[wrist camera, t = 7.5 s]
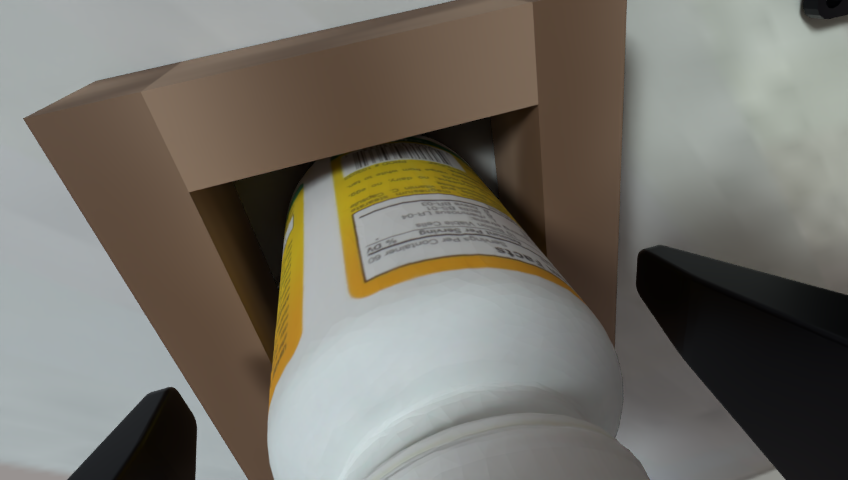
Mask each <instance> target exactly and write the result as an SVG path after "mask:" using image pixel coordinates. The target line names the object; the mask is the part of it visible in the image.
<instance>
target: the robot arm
mask: <svg viewBox="0 0 848 480" xmlns="http://www.w3.org/2000/svg"><path fill="white" fill-rule="evenodd" d="M803 9H804V12H805V14H806V15H807V16H809V17H810V18H822V19H831V18H835V17H839V16H843V15H847V14H848V0H804V3H803ZM636 287H637V291H638V293H639V295H640V297H641V298H642V300H643V301H644V303H645V304H646V306H647V307H648V309H649V310H650V312H651V313H652V314H653V316H654V317H655V319H656V320H657V322H658V323H659V325H660V326H661V328H662V329H663V331H664V332H665V334H666V335H667V336H668V338H669V339H670V341H671V342H672V344H673V345H674V347H675V348H676V349H677V351H678V352H679V354H680V355H681V356H682V358H683V359H684V360H685V361H686V363H687V364H688V365H689V366H690V367H691V369H692V370H693V371H694V372H695V373H696V375H697V376H698V377H699V378H700V379H701V380H702V382H703V383H704V384H705V385H706V386H707V387H708V389H709V390H710V391H711V392H712V393H713V395H714V396H715V397H716V398H717V399H718V400H719V402H720V403H721V404H722V405H723V406H724V408H725V409H726V410H727V411H728V412H729V413H730V415H731V416H732V417H733V418H734V419H735V420H736V422H737V423H738V424H739V425H740V426H741V428H742V429H743V430H744V431H745V432H746V433H747V435H748V436H749V437H750V438H751V439H752V441H753V442H754V443H755V444H756V445H757V446H758V448H759V449H760V450H761V451H762V452H763V453H764V455H765V456H766V457H767V458H768V459H769V461H770V462H771V463H772V464H773V465H774V466H775V468H776V469H777V470H778V471H779V472H780V473H781V474H782V476H783V477H784V478H785V479H786V480H848V295H845V294H842V293H838V292H834V291H830V290H827V289H823V288H819V287H816V286H812V285H808V284H804V283H801V282H797V281H793V280H790V279H786V278H782V277H778V276H775V275H771V274H767V273H764V272H760V271H756V270H752V269H749V268H745V267H741V266H737V265H734V264H730V263H726V262H723V261H719V260H715V259H711V258H708V257H704V256H700V255H697V254H693V253H689V252H685V251H682V250H678V249H674V248H671V247H667V246H663V245H657V246H653V247H650V248H646V249H643V250H641V251H640V252H639V254H638V258H637V275H636ZM196 441H197V425H196V420H195V417H194V415H193V414H192V412H191V410H190V409H189V407H188V406H187V404H186V403H185V401H184V400H183V398H182V397H181V395H180V394H179V392H178V391H177V390H176V389H175V388H173V387H168V388H164V389H161V390H157V391H154V392H151V393H149V394H147V395H146V396H145V397H144V398H143V399H142V400H141V401H140V402H139V404H138V405H137V406H136V407H135V408H134V409H133V410H132V411H131V412H130V413H129V414H128V415H127V416H126V417H125V418H124V420H123V421H122V422H121V423H120V424H119V425H118V426H117V427H116V428H115V429H114V430H113V431H112V432H111V433H110V434H109V436H108V437H107V438H106V439H105V440H104V441H103V442H102V443H101V444H100V445H99V446H98V447H97V448H96V449H95V451H94V452H93V453H92V454H91V455H90V456H89V457H88V458H87V459H86V460H85V461H84V462H83V463H82V464H81V465H80V467H79V468H78V469H77V470H76V471H75V472H74V473H73V474H72V475H71V476H70V477H69V478H68V479H67V480H195V472H196Z"/></svg>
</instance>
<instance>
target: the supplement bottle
mask: <svg viewBox="0 0 848 480" xmlns="http://www.w3.org/2000/svg"><path fill="white" fill-rule="evenodd" d="M622 405H623V382H622V374H621V369H620V365H619V361H618V358H617V354H616V352H615V349H614V347H613V344H612V342H611V340H610V339H609V337H608V335H607V333H606V331H605V329H604V328H603V326H602V324H601V323H600V322H599V320H598V319H597V318H596V316H595V315H594V314H593V312H592V311H591V310H590V309H589V307H588V306H587V305H586V304H585V302H584V301H583V300H582V299H581V297H580V296H579V295H578V294H577V293H576V292H575V291H574V289H573V288H572V287H571V286H570V285H569V283H568V282H567V281H566V280H565V279H564V277H563V276H562V275H561V274H560V273H559V271H558V270H557V269H556V268H555V267H554V266H553V264H552V263H551V262H550V261H549V260H548V259H547V257H546V256H545V255H544V254H543V253H542V252H541V250H540V249H539V248H538V247H537V246H536V245H535V243H534V242H533V241H532V240H531V239H530V237H529V236H528V235H527V234H526V232H525V231H524V230H523V229H522V228H521V226H520V225H519V224H518V223H517V222H516V220H515V219H514V218H513V217H512V216H511V214H510V213H509V212H508V211H507V210H506V208H505V207H504V206H503V205H502V203H501V202H500V201H499V200H498V199H497V198H496V196H495V195H494V194H493V193H492V192H491V191H490V190H489V188H488V187H487V186H486V185H485V184H484V183H483V181H482V180H481V179H480V178H479V176H478V175H477V174H476V173H475V172H474V170H473V169H472V168H471V167H470V166H469V165H468V163H467V162H466V161H465V160H464V159H463V158H461V157H460V156H459V155H458V154H457V153H456V152H454V151H453V150H451V149H450V148H448V147H447V146H445V145H444V144H442V143H440V142H438V141H435V140H433V139H431V138H428V137H425V136H422V135H414V136H410V137H407V138H403V139H399V140H395V141H391V142H387V143H383V144H379V145H375V146H371V147H367V148H363V149H359V150H355V151H351V152H347V153H343V154H339V155H335V156H331V157H327V158H323V159H319V160H317V161H316V162H315V163H314V164H313V165H312V166H311V167H310V168H309V169H308V170H307V172H306V173H305V174H304V176H303V177H302V179H301V180H300V182H299V183H298V185H297V187H296V188H295V191H294V193H293V195H292V197H291V200H290V204H289V207H288V211H287V216H286V224H285V232H284V245H283V256H282V268H281V280H280V290H279V301H278V312H277V324H276V331H275V341H274V352H273V363H272V372H271V383H270V393H269V410H268V433H267V443H268V454H269V462H270V467H271V470H272V474H273V478H274V480H650V479H649V477H648V475H647V473H646V471H645V469H644V468H643V466H642V464H641V463H640V461H639V460H638V459H637V458H636V457H635V456H634V455H633V454H632V453H631V452H630V450H628V449H627V448H625V447H624V446H623V445H621V444H620V443H619V442H618V441H617V439H615V437H616V434H617V431H618V428H619V424H620V418H621V413H622Z"/></svg>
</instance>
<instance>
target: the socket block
mask: <svg viewBox="0 0 848 480" xmlns="http://www.w3.org/2000/svg"><path fill="white" fill-rule="evenodd" d="M626 9H627V0H455V1H451V2H446V3H442V4H437V5H433V6H428V7H424V8H420V9H415V10H411V11H406V12H402V13H397V14H393V15H388V16H384V17H379V18H375V19H370V20H366V21H362V22H357V23H353V24H348V25H344V26H339V27H335V28H330V29H326V30H321V31H317V32H313V33H308V34H304V35H299V36H295V37H290V38H286V39H281V40H277V41H272V42H268V43H263V44H259V45H255V46H250V47H246V48H241V49H237V50H232V51H228V52H223V53H219V54H214V55H210V56H205V57H201V58H197V59H192V60H188V61H183V62H179V63H174V64H170V65H165V66H161V67H156V68H152V69H147V70H143V71H139V72H134V73H130V74H125V75H121V76H116V77H112V78H107V79H103V80H98V81H95V82H93V83H91V84H89V85H87V86H85V87H83V88H81V89H79V90H78V91H76V92H74V93H72V94H70V95H68V96H66V97H64V98H62V99H60V100H58V101H56V102H54V103H52V104H50V105H49V106H47V107H45V108H43V109H41V110H39V111H37V112H35V113H33V114H31V115H29V116H27V117H25V118H23V119H24V121H25V122H26V124H27V125H28V127H29V129H30V130H31V132H32V134H33V135H34V137H35V138H36V140H37V142H38V143H39V145H40V146H41V148H42V150H43V151H44V153H45V154H46V156H47V158H48V159H49V161H50V162H51V164H52V166H53V167H54V169H55V170H56V172H57V174H58V175H59V177H60V178H61V180H62V182H63V183H64V185H65V186H66V188H67V190H68V191H69V193H70V194H71V196H72V198H73V199H74V201H75V202H76V204H77V206H78V207H79V209H80V210H81V212H82V214H83V215H84V217H85V218H86V220H87V222H88V223H89V225H90V227H91V228H92V230H93V231H94V233H95V235H96V236H97V238H98V239H99V241H100V243H101V244H102V246H103V247H104V249H105V251H106V252H107V254H108V255H109V257H110V259H111V260H112V262H113V263H114V265H115V267H116V268H117V270H118V271H119V273H120V275H121V276H122V278H123V279H124V281H125V283H126V284H127V286H128V287H129V289H130V291H131V292H132V294H133V295H134V297H135V299H136V300H137V302H138V303H139V305H140V307H141V308H142V310H143V312H144V313H145V315H146V316H147V318H148V320H149V321H150V323H151V324H152V326H153V328H154V329H155V331H156V332H157V334H158V336H159V337H160V339H161V340H162V342H163V344H164V345H165V347H166V348H167V350H168V352H169V353H170V355H171V356H172V358H173V360H174V361H175V363H176V364H177V366H178V368H179V369H180V371H181V372H182V374H183V376H184V377H185V379H186V380H187V382H188V384H189V385H190V387H191V388H192V390H193V392H194V393H195V395H196V396H197V398H198V400H199V401H200V403H201V405H202V406H203V408H204V409H205V411H206V413H207V414H208V416H209V417H210V419H211V421H212V422H213V424H214V425H215V427H216V429H217V430H218V432H219V433H220V435H221V437H222V438H223V440H224V441H225V443H226V445H227V446H228V448H229V449H230V451H231V453H232V454H233V456H234V457H235V459H236V461H237V462H238V464H239V465H240V467H241V469H242V470H243V472H244V473H245V475H246V477H247V478H248V480H274V478H273V474H272V470H271V467H270V462H269V454H268V443H267V433H268V410H269V393H270V383H271V372H272V363H273V352H274V341H275V331H276V324H277V312H278V301H279V291H278V288H277V286H276V283H275V281H274V279H273V276H272V274H271V272H270V269H269V267H268V265H267V262H266V260H265V257H264V255H263V253H262V250H261V248H260V246H259V243H258V241H257V239H256V236H255V234H254V231H253V229H252V227H251V224H250V222H249V220H248V217H247V215H246V213H245V210H244V208H243V205H242V203H241V201H240V198H239V196H238V194H237V191H236V189H235V187H234V184H233V182H232V181H236V180H240V179H243V178H247V177H251V176H255V175H259V174H263V173H267V172H271V171H275V170H279V169H283V168H287V167H291V166H295V165H299V164H303V163H307V162H311V161H315V160H319V159H323V158H327V157H331V156H335V155H339V154H343V153H347V152H351V151H355V150H359V149H363V148H367V147H371V146H375V145H379V144H383V143H387V142H391V141H395V140H399V139H403V138H407V137H410V136H414V135H418V134H422V133H426V132H430V131H434V130H438V129H442V128H446V127H450V126H454V125H458V124H462V123H466V122H470V121H474V120H478V119H482V118H486V117H490V119H491V128H492V137H493V146H494V155H495V164H496V173H497V182H498V191H499V200H500V202H501V203H502V205H503V206H504V207H505V208H506V210H507V211H508V212H509V213H510V214H511V216H512V217H513V218H514V219H515V220H516V222H517V223H518V224H519V225H520V226H521V228H522V229H523V230H524V231H525V232H526V234H527V235H528V236H529V237H530V239H531V240H532V241H533V242H534V243H535V245H536V246H537V247H538V248H539V249H540V250H541V252H542V253H543V254H544V255H545V256H546V257H547V259H548V260H549V261H550V262H551V263H552V264H553V266H554V267H555V268H556V269H557V270H558V271H559V273H560V274H561V275H562V276H563V277H564V279H565V280H566V281H567V282H568V283H569V285H570V286H571V287H572V288H573V289H574V291H575V292H576V293H577V294H578V295H579V296H580V297H581V299H582V300H583V301H584V302H585V304H586V305H587V306H588V307H589V309H590V310H591V311H592V312H593V314H594V315H595V316H596V318H597V319H598V320H599V322H600V323H601V324H602V326H603V328H604V329H605V331H606V333H607V335H608V337H609V339H610V340H611V342H612V344H613V347H614V349H615V323H616V295H617V266H618V238H619V209H620V181H621V152H622V124H623V95H624V66H625V38H626Z"/></svg>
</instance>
